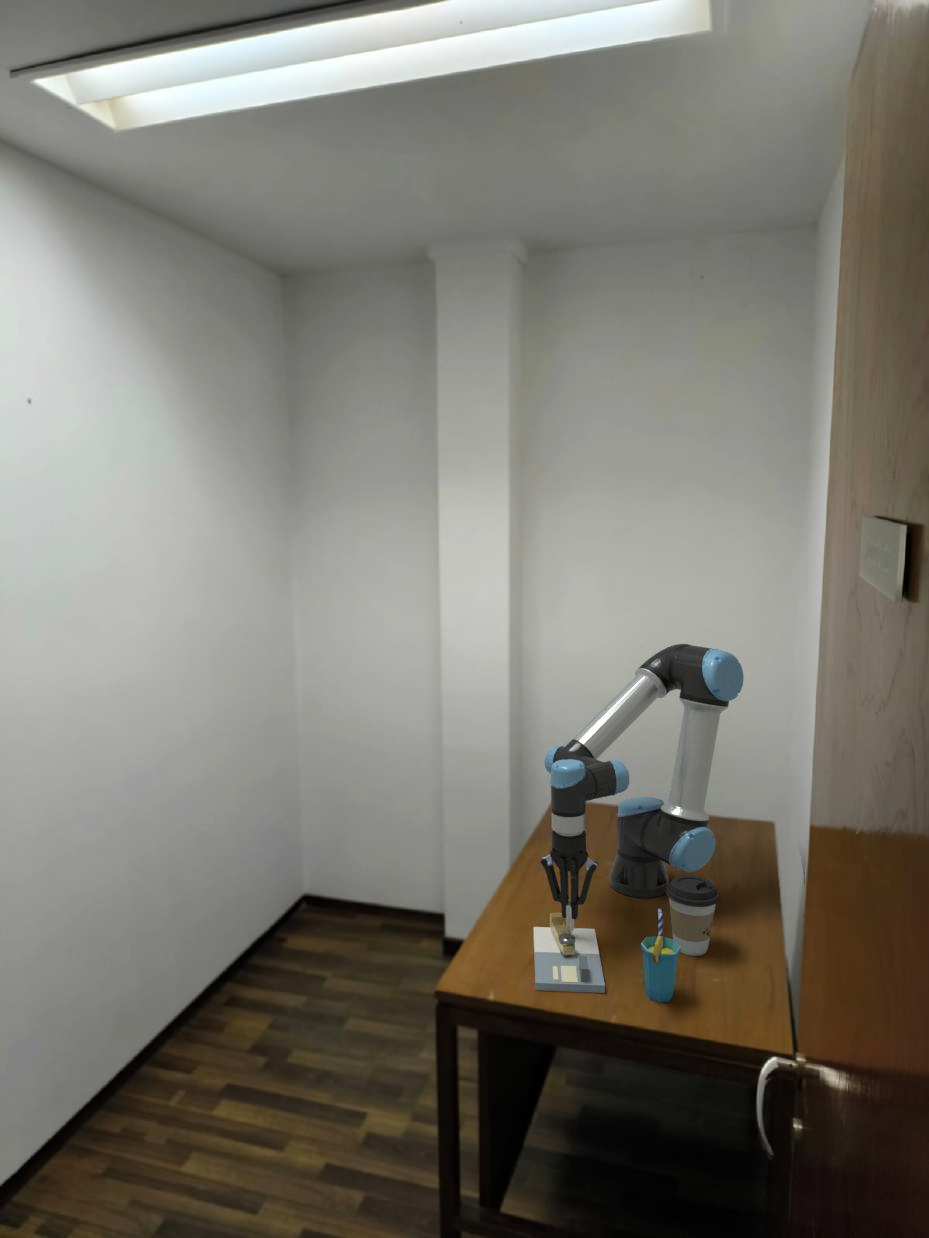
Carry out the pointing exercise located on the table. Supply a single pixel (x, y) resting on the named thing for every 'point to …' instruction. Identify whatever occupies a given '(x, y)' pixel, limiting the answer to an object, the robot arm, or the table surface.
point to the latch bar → (562, 934)
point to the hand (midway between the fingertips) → (570, 931)
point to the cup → (660, 964)
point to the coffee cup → (692, 912)
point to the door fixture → (567, 963)
